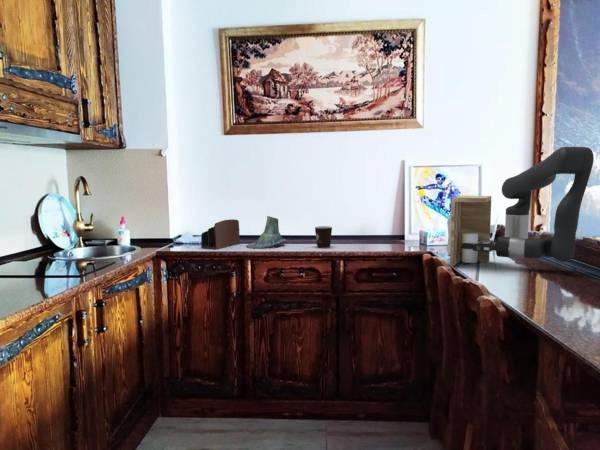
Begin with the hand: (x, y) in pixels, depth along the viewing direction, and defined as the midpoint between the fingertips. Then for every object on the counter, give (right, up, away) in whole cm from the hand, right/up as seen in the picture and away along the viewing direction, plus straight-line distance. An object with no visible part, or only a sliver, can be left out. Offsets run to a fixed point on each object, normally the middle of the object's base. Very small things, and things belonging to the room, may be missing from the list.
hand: (463, 244), depth 169 cm
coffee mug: (-52, -3, +49) cm, 72 cm away
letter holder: (-105, -4, +56) cm, 119 cm away
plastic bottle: (+3, -6, +20) cm, 21 cm away
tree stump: (-82, -3, +55) cm, 98 cm away
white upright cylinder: (+2, -7, 0) cm, 7 cm away
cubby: (+3, -8, +1) cm, 8 cm away
